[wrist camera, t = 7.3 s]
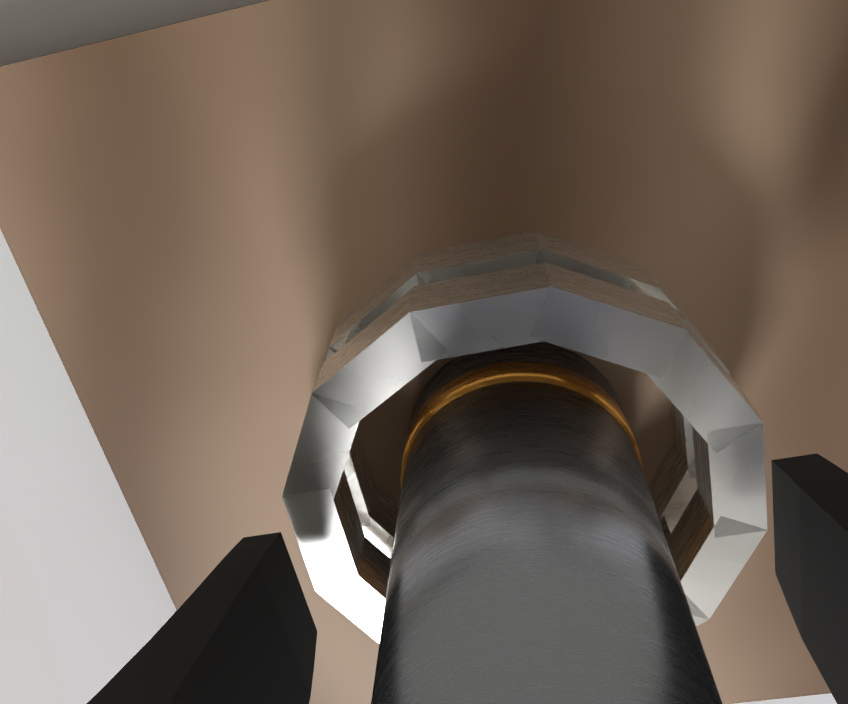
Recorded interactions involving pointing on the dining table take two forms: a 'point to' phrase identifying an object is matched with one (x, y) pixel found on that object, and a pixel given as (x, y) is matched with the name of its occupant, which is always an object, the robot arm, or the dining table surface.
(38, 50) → the dining table surface
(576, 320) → the collars
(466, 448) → the tube
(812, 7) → the collar board
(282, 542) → the robot arm
